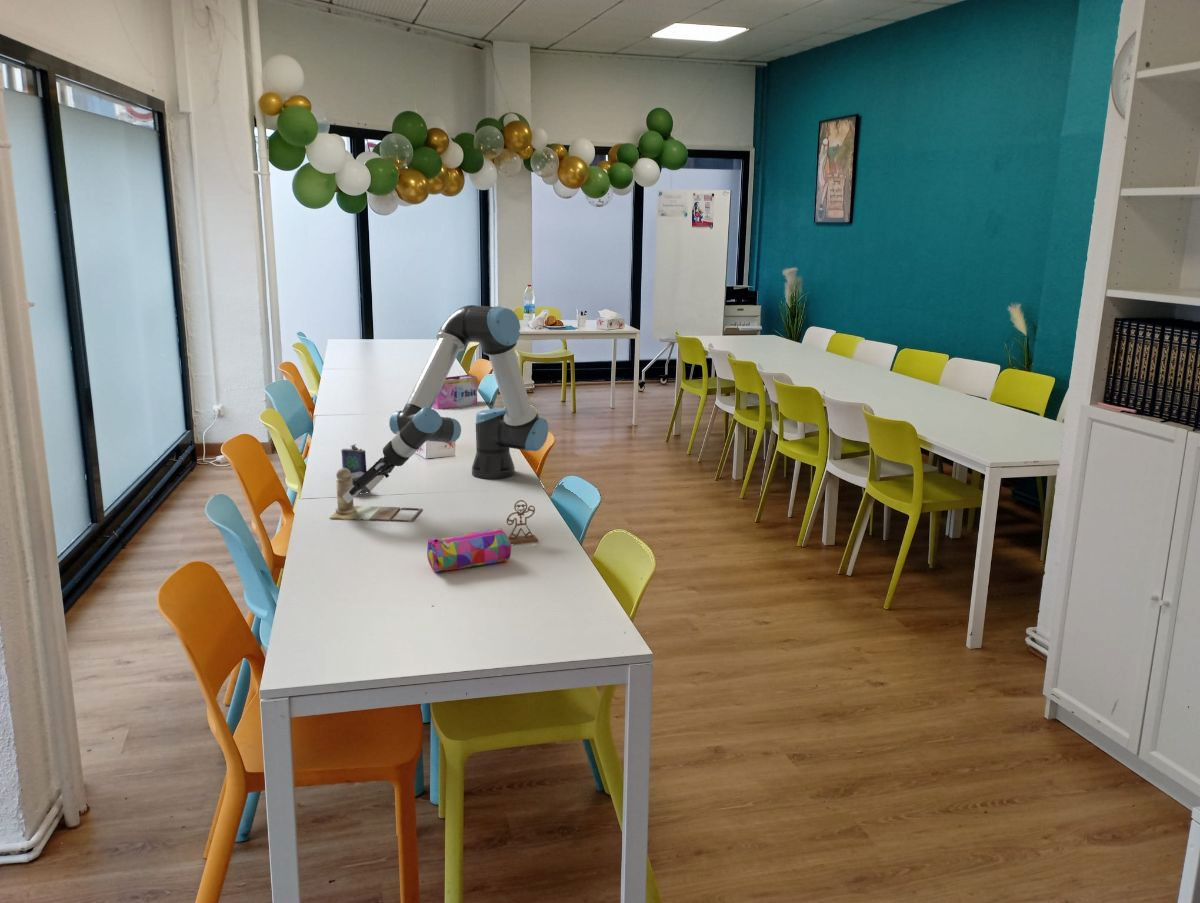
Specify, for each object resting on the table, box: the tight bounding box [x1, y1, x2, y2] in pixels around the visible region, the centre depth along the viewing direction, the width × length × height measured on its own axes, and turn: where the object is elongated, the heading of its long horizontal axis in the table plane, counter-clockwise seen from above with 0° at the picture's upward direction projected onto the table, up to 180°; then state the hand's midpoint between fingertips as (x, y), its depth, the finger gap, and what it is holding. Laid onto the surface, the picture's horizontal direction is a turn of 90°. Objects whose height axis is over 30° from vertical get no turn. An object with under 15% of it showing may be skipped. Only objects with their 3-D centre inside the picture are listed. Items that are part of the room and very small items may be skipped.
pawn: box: [335, 467, 356, 515], centre depth 280 cm, size 6×6×14 cm
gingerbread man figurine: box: [506, 499, 539, 546], centre depth 258 cm, size 9×4×12 cm, turn 109°
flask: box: [340, 444, 368, 473], centre depth 324 cm, size 9×3×11 cm, turn 73°
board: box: [329, 505, 423, 522], centre depth 282 cm, size 25×12×1 cm, turn 87°
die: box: [351, 471, 371, 494], centre depth 303 cm, size 6×6×6 cm
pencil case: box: [426, 528, 512, 573], centre depth 240 cm, size 22×9×9 cm, turn 118°
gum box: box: [431, 374, 478, 410], centre depth 446 cm, size 24×8×14 cm, turn 131°
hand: (356, 493), depth 280 cm, fingers open, 13 cm apart
